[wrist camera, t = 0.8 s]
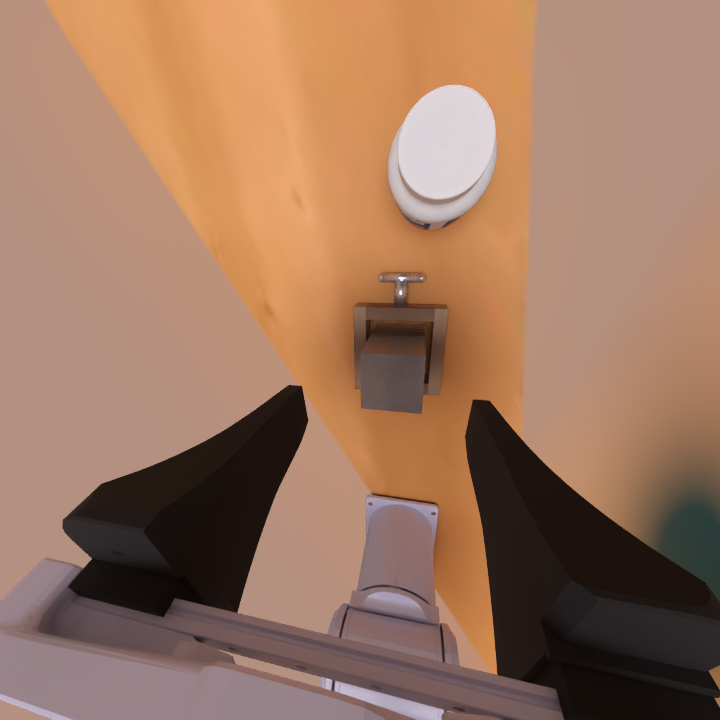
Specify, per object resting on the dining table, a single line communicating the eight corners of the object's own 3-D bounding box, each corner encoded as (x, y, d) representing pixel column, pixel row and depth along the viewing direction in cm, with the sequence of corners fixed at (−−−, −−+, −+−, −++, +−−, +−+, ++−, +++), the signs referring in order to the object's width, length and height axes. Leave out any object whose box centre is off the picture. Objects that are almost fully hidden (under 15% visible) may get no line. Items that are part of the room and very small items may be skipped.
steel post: (420, 366, 26) (421, 413, 18) (377, 364, 26) (361, 408, 19) (423, 323, 24) (426, 356, 17) (377, 322, 25) (360, 352, 18)
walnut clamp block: (438, 385, 26) (439, 395, 24) (359, 379, 27) (355, 388, 25) (449, 272, 22) (452, 274, 20) (357, 272, 24) (352, 274, 22)
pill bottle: (472, 137, 19) (519, 37, 10) (473, 223, 21) (513, 204, 12) (392, 155, 20) (372, 81, 11) (400, 236, 22) (387, 226, 13)
